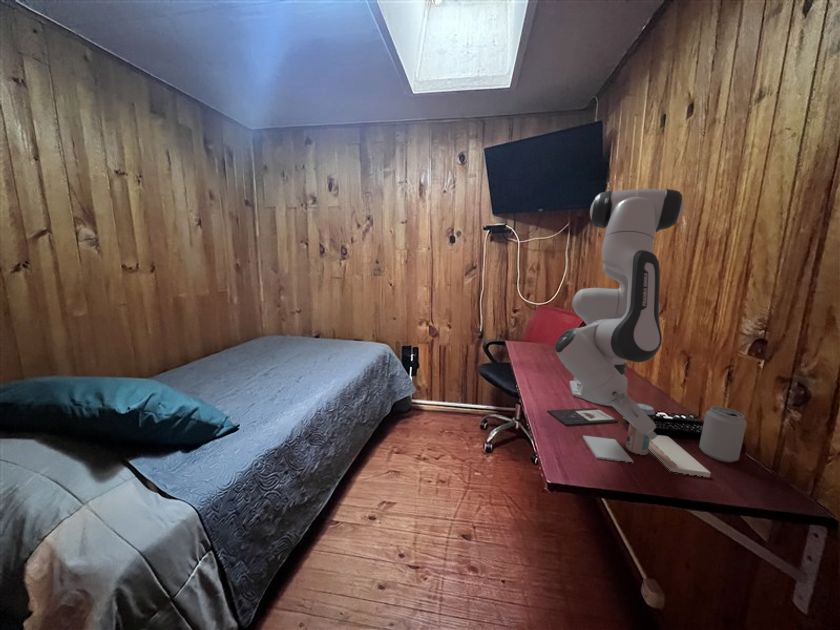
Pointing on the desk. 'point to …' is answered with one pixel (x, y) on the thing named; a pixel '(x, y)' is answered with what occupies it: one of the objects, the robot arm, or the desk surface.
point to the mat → (607, 449)
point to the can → (722, 434)
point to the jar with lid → (639, 434)
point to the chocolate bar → (581, 416)
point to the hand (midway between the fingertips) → (642, 427)
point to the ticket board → (676, 457)
